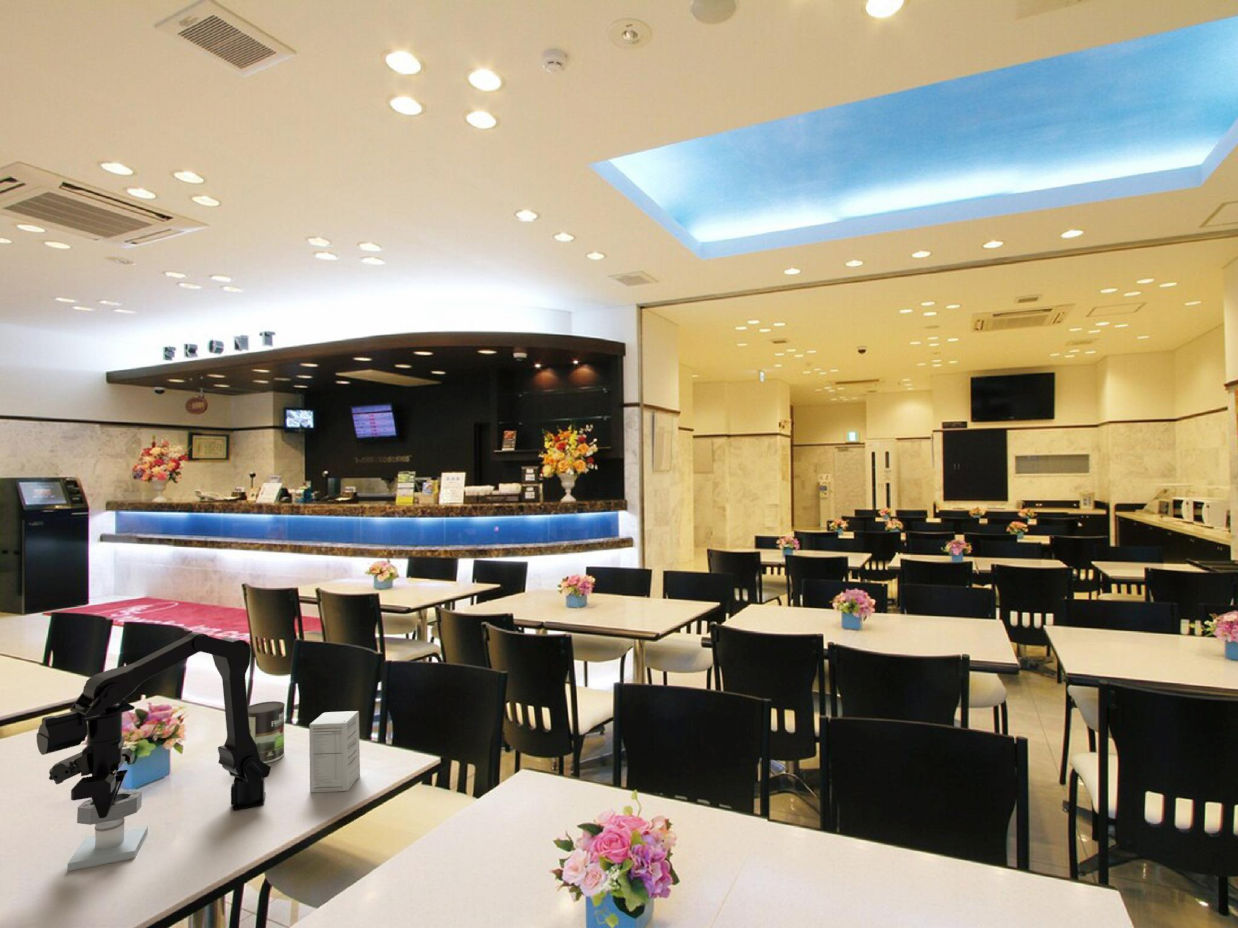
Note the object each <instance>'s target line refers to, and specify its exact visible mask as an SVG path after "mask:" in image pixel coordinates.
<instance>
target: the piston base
mask: <svg viewBox="0 0 1238 928" xmlns="http://www.w3.org/2000/svg"><path fill="white" fill-rule="evenodd" d="M94 825H95V826H94V835H91V836H86V837H85V838H84V839H83V841H82V842H81V843H80V845H79V846H78V848H77V849H76V851H75V852H74V853H73V855H72V857H71V858H70V860H69V861H68V863H67V872H71V871H76V870H81V869H86V868H91V867H97V866H101V865H106V864H110V863H117V862H121V861H122V862H123V861H127V860H132V859H135V858H136V856H137V854H138V853H139V851H140V849H141V847H142V845H143V843H144V841H145V839H146V837H147V835H148V834H149V833H148V832H149V831H148V827H149V826H148V825H146V826H140V827H135V828H129V829H125V817H123V818H121V819H118V820H115V821H109V822H103V823H98V824H94Z"/></svg>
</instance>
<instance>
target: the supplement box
mask: <svg viewBox="0 0 1238 928" xmlns="http://www.w3.org/2000/svg"><path fill="white" fill-rule="evenodd" d="M308 727H309V728H308V729H309V731H308V732H309V793H326V792H327V793H329V792H330V793H331V792H334V793H335V792H348V791H349V790H350V789H351V787H352V786H353V784H354V783H355V782H356V781H357V780H358V779H359V778H360V776H361V765H360V764H361V761H360V757H361V756H360V755H361V753H360V750H361V749H360V711H358V710H356V711H355V710H354V711H353V710H349V711H329V712H328V711H326V712H323V713H321V714H320V715H319V716H318V717H317V718H315V719H314V720H313V721H312V722H310V723H309V726H308Z"/></svg>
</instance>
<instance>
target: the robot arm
mask: <svg viewBox="0 0 1238 928" xmlns="http://www.w3.org/2000/svg"><path fill="white" fill-rule="evenodd" d="M198 653H204V654H209V655H211V656H212V659H213V662H214V666H215V668H216V670H217V671H218V673H219V675H220V677H221V679H222V691H223V692H222V693H223V704H224V705H223V706H224V714H225V726H226V727H225V728H226V740H225V742H224V744H223V745H220V746H217V751H218V757H219V759H218V762H217V763H218V764H219V765H221V767H222V768H223V770H226V771H228V773H229V775H230V777H233V778H234V779H233V783H232V784H231V786H230V805H231V806H232V811H237V810H241V809H243V810H244V809H248V808H253V807H254V808H255V807H260V806H264V804H265V799H266V791H265V789H266V788H265V786H266V785H265V783H266V782H265V780H266V779H265V778H268V777H269V776H270V772H271V768H272V767H271V766H270V765H268V763H267V764H265V763H264V762H262V761H261V760H260V755H259V751H258V748H257V745H256V743H255V741H254V740H253V738H252V736H251V734H250V726H249V715H248V706H249V703H248V694H247V683H246V682H247V681H246V674H247V671H248V668H249V667H250V664H251V654H252V648H251V644H250V643H249V642H248V641H246V640H243V639H239V638H233V637H229V636H227V637H222V638H218V637H213V636H211V635H210V636H209V635H207V634H206V633H202V632H199V631H193V632H190V633H187V635H185V636H184V637H182V638H180V639H178V640H176V641H174V642H172V643H170V644H168V645H166V646H164V647H162V648H160V649H159V650H156V651H154V652H152V653H150V654H148V655H146V656H145V657H143V658H140V659H139V660H136V661H135V662H132V663H130V664H127V665H124V666H123V665H122V666H119V667H115V668H111V669H108V670H104V671H102V672H98V673H96V674H93V676H91V677H89V678H88V679H87V680H86V681H85V684H84V686H83V689H82V692H81V693H80V695H79V697H78V698H77V699H76V700H75V702H74V703H73V704H72V705H71V707H70V708H69V712H65V713H60V714H56V715H49V716H48V715H47V716H44V717H42V718H41V724H40V725H39V728H38V731H37V733H36V745H37V748H38V751H39V753H40V754H41V755H42V756H44V755H47V754H52V753H56V752H60V751H62V750H67V749H70V748H73V747H77V746H80V745H81V744H82V743H83V742H85V741H86V746H85V747H84V748H83V749H82V750H81V752H78V753H75V754H74V755H71V756H69V757H67V758H64V759H62V760H59V761H58V762H56V763H55V764H54V765H53V766H52V767H51V768H50V769H49V772H48V773H49V776H48V780H49V781H54V783H55V785H60V784H61V783H63V782H64V781H66V780H68V779H70V778H73V777H75V776H77V775H79V774H80V777H81V779H80V780H79V781H78V782H77V783H76V784H75V785H74V786H73V787H72V789H71V790H70V791H71V792H70V800H71V801H74V802H75V801H80V800H85V799H86V800H87V799H92V800H93V802H94V805H95V808H96V810H97V813H98V816H99V818H105V817H106V816H107V814H108V812H109V809H110V807H111V804H112V803H114V801H115V798H116V796H117V794H118V792H120V789H121V788H122V785H123V783H124V781H125V778H126V776H127V773H128V769H123V770H121V769H120V768H121V767H122V765H124V763H125V762H126V765H128V766H129V765H132V764H133V762H134V761H135V750H133V749H131V748H130V747H127V748H123V744H124V743H125V742H126V736H124V735H123V713H125V712H130V711H133V710H134V709H135V706H134V705H132V704H130V703H129V702H128V701H127V700H126V698H127V697H128V696H130V695H131V694H133V692H135V691H136V690H137V688H139V686H140V685H142V684H143V683H144V682H146V681H148V680H149V679H151V678H153V677H155V676H157V675H158V674H160V673H162V672H164V671H166V670H168V669H169V668H172V667H173V666H175V665H178V664H179V663H181V662H184V660H186V659H188V658H190V657H191V656H194V655H196V654H198ZM90 775H91V776H90ZM85 776H86V777H85Z"/></svg>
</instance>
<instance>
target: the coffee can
mask: <svg viewBox="0 0 1238 928" xmlns="http://www.w3.org/2000/svg"><path fill="white" fill-rule="evenodd" d="M285 706H286V705H285V703H284V702H282V701H274V700H273V701H263V702H262V701H261V702H258V703H257V702H256V703H255V704H251V705H248V715H249V726H250V734H251V736H252V738H253V740H254V741H255V743H256V745H257V748H258V751H259V755H260V760H261V761H262V762H264V763H265V764H267V765H268V764H270V763H273V762H274V763H275V762H276V761H278V760H280V759H282V758H283V757H284V756H285Z"/></svg>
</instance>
